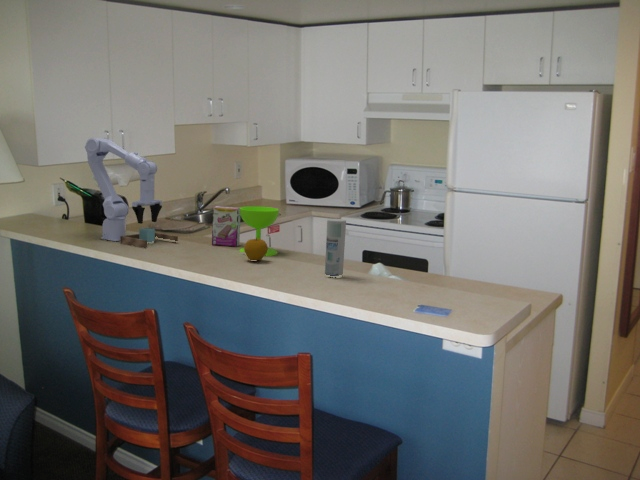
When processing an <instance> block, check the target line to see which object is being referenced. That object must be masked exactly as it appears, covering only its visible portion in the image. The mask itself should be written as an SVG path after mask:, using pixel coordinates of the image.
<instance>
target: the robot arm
mask: <svg viewBox="0 0 640 480" xmlns="http://www.w3.org/2000/svg"><path fill="white" fill-rule="evenodd" d="M84 149H85V151H86V155H87V156H86V157H87V163H88V166H89V167H90V170H91V172H92V174H93V176H94V178H95V181H96V183H97V186H98V187H99V190H100V192H101V195H102V197H103V199H104V201H103V202H102V207H103V213H104V216H105V217H106V218H105V219H104V220H103V223H102V236H101V237H100V239H102V240H108V241H112V242H120V236H126V218H127V215H129V213H130V210H129V209H130V208H129V206H128V204H127V203H126V202H125V201H124V199H123V198H122V197H121V196H119V195H118V194H117V191H116V189H115V187H114V185H113V183H112V181H111V178H110V177H109V174H108V171H107V168H106V167H105V165H104V163H103V162H104V159H105V158H106V156H107V155H108V154H109V153H111V154H114V155H115V156H117V157H119V158H121V159H122V160H124V162H125V164H126V165H128V166H129V167H130V168H132V169H134V170H136V171H137V172H138V174H139V179H140V180H139V181H140V184H139V185H140V189H139V192H140V194H139V195H140V196H139V199H140V200H135V201H131V205H132V206H131V208H132V210H133V212H134V214H135V217H136V220H137V224H143V223H144V212H145V209H146V208H145V206H146V207H148V206H149V208H150V218H151V219H150V220H151V222H153V223H157V221H158V217H159V214H160V212H161V210H162V208H163V200H162V199H155V175H156V173H157V172H158V165H157V164H156V163H155V162H154V161H153V160H148V159H147V158H145V157H142V156H140V155H139V153H138V152H135V151H130V152H128V151H127V150H126V149H123V148H122V147H121V146H120V145H118V144H116V143H115V142H114V141H113V140H111V139H109V138H106V137H102V138H100V137H99V138H97V137H90V138H88V139H87V141H86V143H85V146H84Z"/></svg>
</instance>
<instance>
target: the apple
mask: <svg viewBox="0 0 640 480" xmlns="http://www.w3.org/2000/svg"><path fill="white" fill-rule="evenodd" d="M243 248H244V250H245V253H246V255H245V256H246V257H247V258H248V260H249V259H250V260H260V259H261V260H262V259H263V258H264V257H266V256H265V254H266V253H267V250H268V248H269V247H268V244H267V242H266V241H265V240H264V239H262V238H261V239H257V238H256V237H255V238H252V239H251V238H250V239H248V240H247V241H246V242H245V243H244V247H243ZM250 260H249V261H250ZM261 260H260V261H261Z"/></svg>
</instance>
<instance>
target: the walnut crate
mask: <svg viewBox="0 0 640 480" xmlns="http://www.w3.org/2000/svg"><path fill="white" fill-rule="evenodd" d="M156 236H157V237H158V238H163V239H170V240H175V241H179V236H178V235H173V234H166V233H161V232H155V237H156ZM119 243H120V244H121V245H122V244H123V245H126V244H128V245H127V246H131V245H133V246H132V247H137V248H142V247H144V248H143V249H147V248H148V244H147V240H141V239H139V233H136V234H128V235H126V234H125V236H120V241H119ZM146 247H147V248H146Z"/></svg>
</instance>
